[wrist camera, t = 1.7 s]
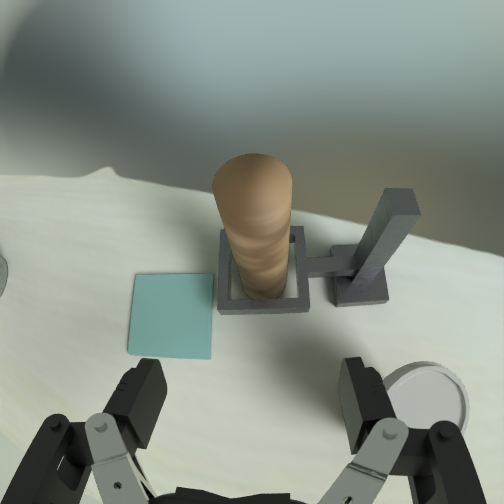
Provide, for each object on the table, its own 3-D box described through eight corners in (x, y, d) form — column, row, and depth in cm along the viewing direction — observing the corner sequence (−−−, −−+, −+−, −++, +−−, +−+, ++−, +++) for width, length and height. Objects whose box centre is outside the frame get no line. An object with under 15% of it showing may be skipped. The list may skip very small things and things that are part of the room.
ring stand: (225, 320, 33) (185, 266, 19) (226, 247, 37) (197, 161, 23) (385, 311, 32) (451, 254, 18) (374, 242, 36) (418, 158, 22)
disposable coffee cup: (321, 442, 26) (345, 470, 15) (351, 361, 30) (390, 346, 19) (397, 457, 24) (450, 482, 13) (424, 380, 28) (484, 371, 17)
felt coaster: (129, 354, 32) (127, 353, 31) (137, 276, 36) (136, 274, 36) (210, 359, 31) (209, 358, 31) (213, 274, 36) (212, 273, 35)
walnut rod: (242, 302, 34) (209, 217, 18) (243, 262, 36) (215, 156, 20) (287, 301, 33) (295, 213, 17) (285, 260, 36) (288, 152, 19)
